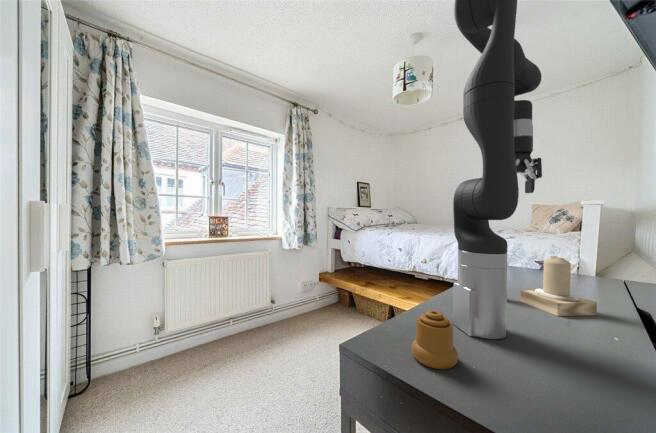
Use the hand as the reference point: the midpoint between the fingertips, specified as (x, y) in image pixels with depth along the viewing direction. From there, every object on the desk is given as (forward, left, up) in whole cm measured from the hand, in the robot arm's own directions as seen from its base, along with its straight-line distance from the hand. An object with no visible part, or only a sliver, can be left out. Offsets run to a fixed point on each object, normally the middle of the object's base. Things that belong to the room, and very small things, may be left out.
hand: (516, 192), depth 75 cm
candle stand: (+6, -7, -32) cm, 33 cm away
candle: (+6, -7, -28) cm, 30 cm away
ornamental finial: (-40, -28, -32) cm, 59 cm away
